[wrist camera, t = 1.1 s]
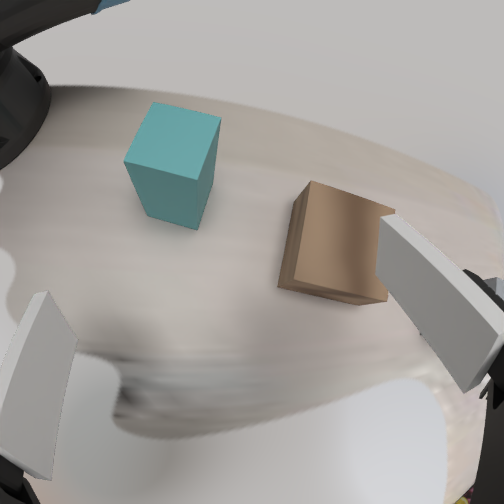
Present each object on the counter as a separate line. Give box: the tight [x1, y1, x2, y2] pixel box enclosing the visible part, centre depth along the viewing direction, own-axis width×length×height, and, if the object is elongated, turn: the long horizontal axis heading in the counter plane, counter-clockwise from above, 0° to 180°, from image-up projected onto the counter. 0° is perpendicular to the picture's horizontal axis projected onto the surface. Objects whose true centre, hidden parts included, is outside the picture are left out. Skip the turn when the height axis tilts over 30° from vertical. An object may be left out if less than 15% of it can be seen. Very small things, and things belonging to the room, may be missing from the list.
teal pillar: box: [124, 102, 221, 230], centre depth 22 cm, size 5×5×10 cm
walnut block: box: [277, 181, 395, 305], centre depth 26 cm, size 8×8×5 cm
